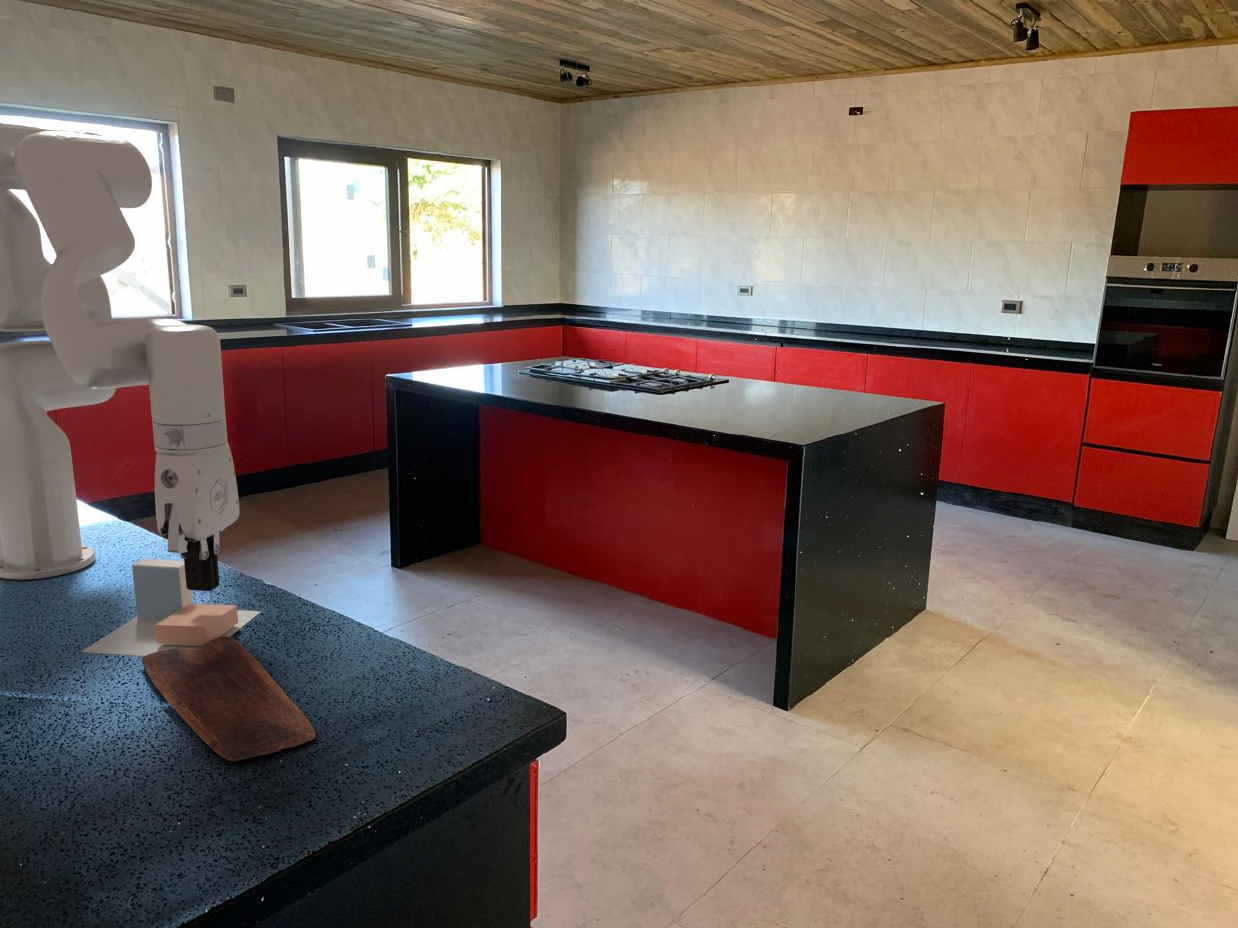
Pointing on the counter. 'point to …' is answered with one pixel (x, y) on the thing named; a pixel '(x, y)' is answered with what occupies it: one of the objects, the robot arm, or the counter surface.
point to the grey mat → (149, 637)
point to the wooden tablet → (228, 699)
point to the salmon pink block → (196, 624)
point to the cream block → (160, 588)
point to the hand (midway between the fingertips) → (203, 587)
